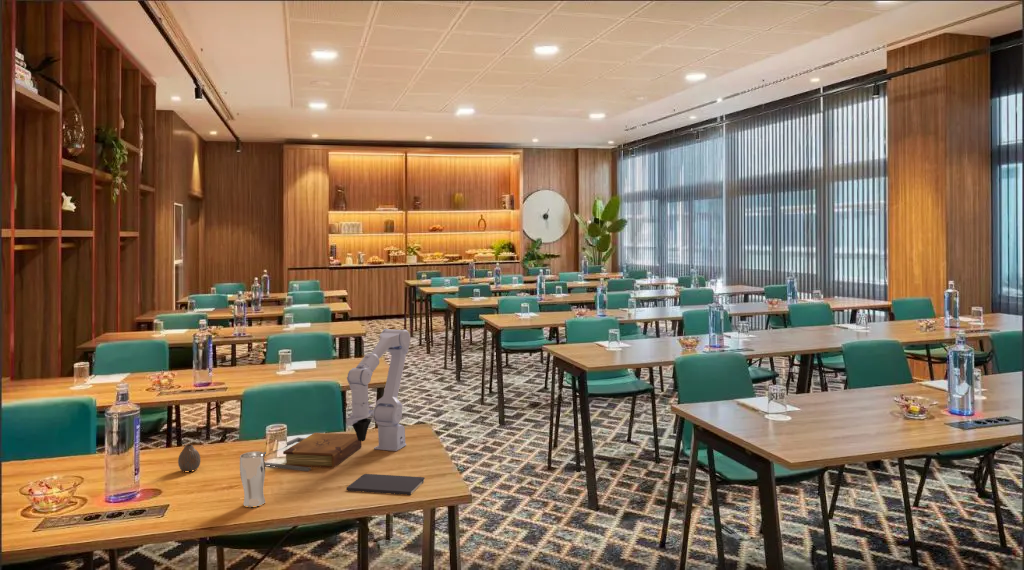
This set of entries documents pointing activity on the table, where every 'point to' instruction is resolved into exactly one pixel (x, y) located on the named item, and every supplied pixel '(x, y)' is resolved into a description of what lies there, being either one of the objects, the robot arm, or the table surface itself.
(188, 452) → the grey teardrop shape
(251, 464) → the beer glass
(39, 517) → the table surface
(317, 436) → the diary
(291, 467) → the flat grey piece
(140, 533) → the table surface
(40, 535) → the table surface
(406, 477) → the notebook
